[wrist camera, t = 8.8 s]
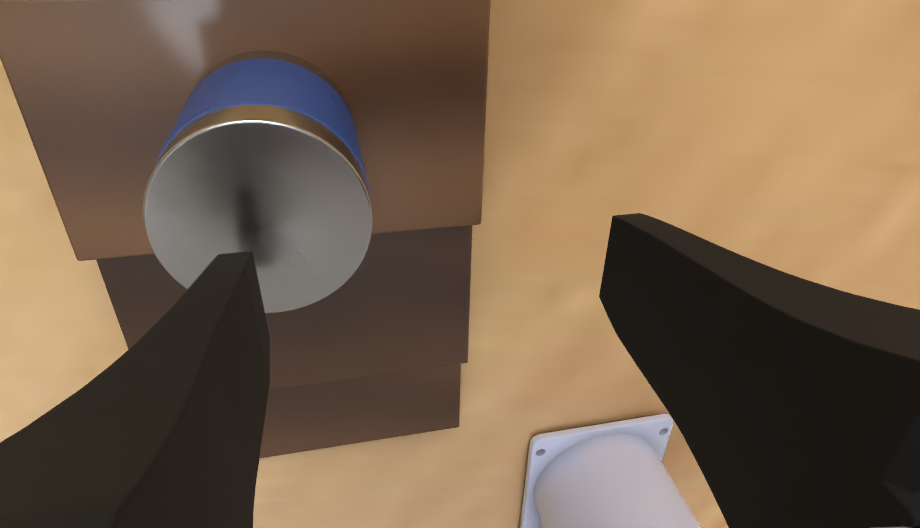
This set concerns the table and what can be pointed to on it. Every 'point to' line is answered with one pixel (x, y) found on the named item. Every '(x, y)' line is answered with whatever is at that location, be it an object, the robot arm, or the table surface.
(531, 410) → the table surface
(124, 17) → the step shelf
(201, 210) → the can
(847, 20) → the table surface
